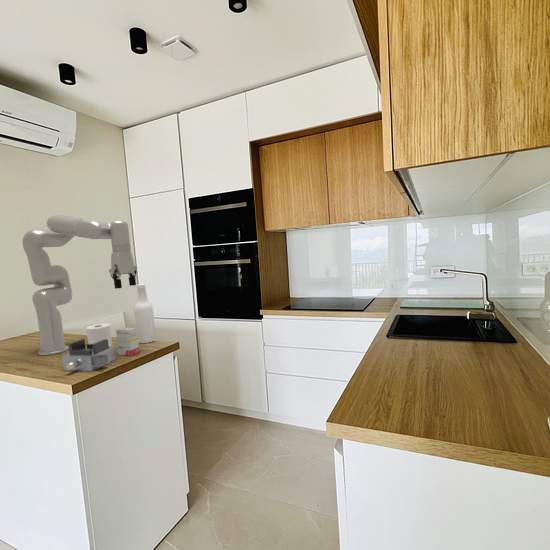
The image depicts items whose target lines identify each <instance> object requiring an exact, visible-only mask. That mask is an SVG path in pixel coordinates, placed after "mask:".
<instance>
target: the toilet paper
mask: <svg viewBox="0 0 550 550" xmlns="http://www.w3.org/2000/svg"><path fill="white" fill-rule="evenodd" d="M85 329H86V335H87V336H86V337H87V344H94V343H96V342H99V341H101V340H104V339H108V344H109V346H113V341H112V340H113V339H112V332H111V325H110V323H100V324H93V325H89V326H86V328H85Z"/></svg>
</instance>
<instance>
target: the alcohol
mask: <svg viewBox="0 0 550 550" xmlns="http://www.w3.org/2000/svg"><path fill="white" fill-rule="evenodd" d="M136 286H137V303H136V304H135V305H134V319H135V328H137V333H138V343H139V344H140V343H146V344H150V343H149V342H151V343H153V342H155V341H156V338H157V337H156V327H155V318H154V317H155V316H154V308H153V305H152V304H151V302H150V301H149V300H148V294H147V290H146V287H147V286H146V283H139V284H136ZM152 341H153V342H152Z"/></svg>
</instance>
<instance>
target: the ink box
mask: <svg viewBox="0 0 550 550" xmlns="http://www.w3.org/2000/svg"><path fill="white" fill-rule="evenodd" d="M115 334H116V343H117V344H116V345H117V353H118V355H119V356H131V357H132V356H135V355H137V354H139V352H140V346H139V345H140V343H139V342H138V333H137V328H136V327H135V328H134V327H121V328H116V330H115Z"/></svg>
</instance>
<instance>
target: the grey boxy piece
mask: <svg viewBox="0 0 550 550" xmlns="http://www.w3.org/2000/svg"><path fill="white" fill-rule="evenodd" d="M67 346H69V349H68V353H66V354H62V355H61V360H62V361H61V362H62V369H63V371H67V372H68V371H74V372H75V371H76V372H77V370H78V372H94V371H96V370H97V369H100V368H101V367H103V366H105V364H106V365H107V364H109V363H112V362H113V360H114V361H115V359H116V360H117V359H118V358H117V352H116V350H117V348H116V345H112V346H109V344H108V339H104V340H101V341H99V342H96V343H94V344H88V343H87V344H86V339H85V338H81V339H78V340H75V341H73V342H70V343H68V345H67ZM111 361H112V362H111Z"/></svg>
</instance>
